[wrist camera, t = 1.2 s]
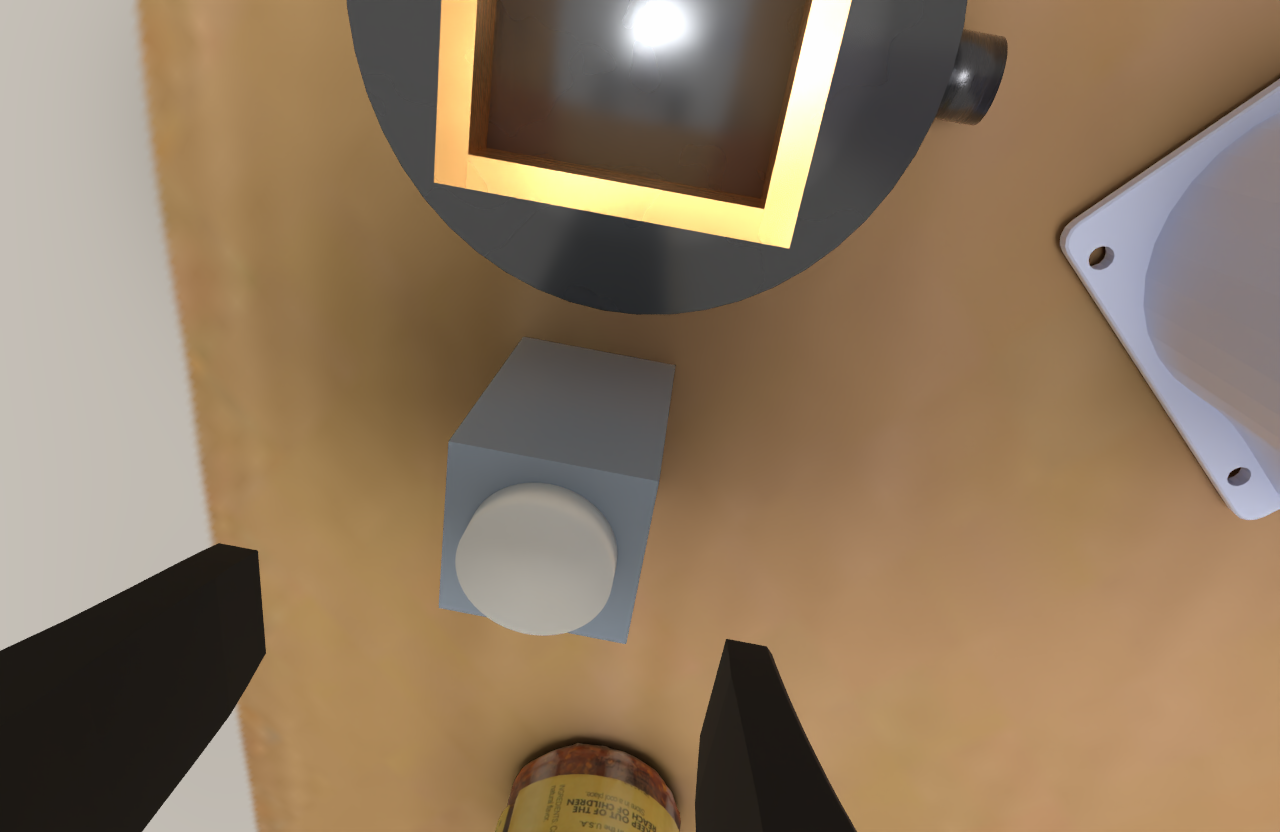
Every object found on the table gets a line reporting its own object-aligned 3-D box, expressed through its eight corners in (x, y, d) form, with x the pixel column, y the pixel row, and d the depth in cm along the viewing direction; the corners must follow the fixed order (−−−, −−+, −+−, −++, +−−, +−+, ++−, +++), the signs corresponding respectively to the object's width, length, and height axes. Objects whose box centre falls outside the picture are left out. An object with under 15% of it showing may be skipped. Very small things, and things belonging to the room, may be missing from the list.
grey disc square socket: (1069, -249, 14) (1205, -369, 10) (885, 323, 18) (929, 391, 15) (415, -363, 14) (300, -524, 10) (401, 233, 19) (319, 276, 15)
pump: (675, 364, 19) (655, 504, 13) (642, 530, 22) (612, 715, 16) (523, 336, 19) (434, 461, 13) (506, 504, 22) (423, 678, 16)
